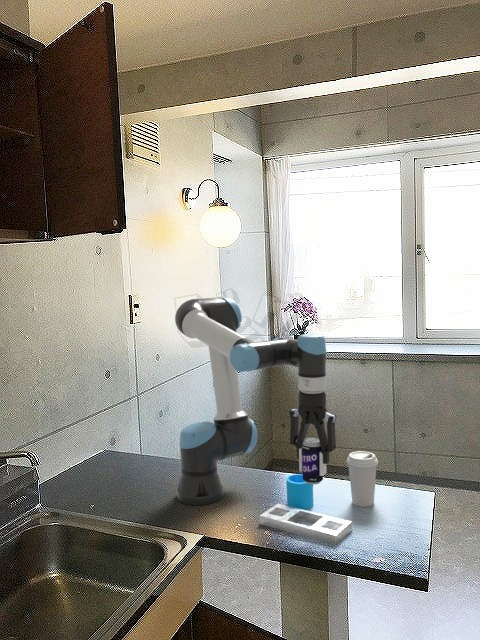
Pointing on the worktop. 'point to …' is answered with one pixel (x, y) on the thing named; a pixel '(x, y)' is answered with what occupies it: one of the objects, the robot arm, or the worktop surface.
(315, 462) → the beverage can
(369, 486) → the coffee cup
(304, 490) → the mug
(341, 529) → the white compartment tray
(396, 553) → the worktop surface
